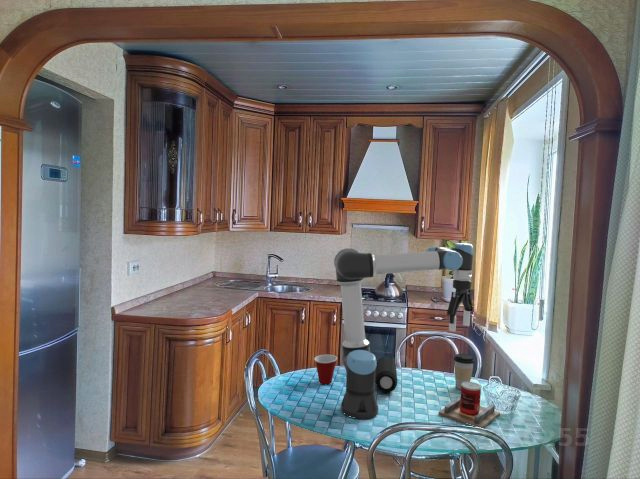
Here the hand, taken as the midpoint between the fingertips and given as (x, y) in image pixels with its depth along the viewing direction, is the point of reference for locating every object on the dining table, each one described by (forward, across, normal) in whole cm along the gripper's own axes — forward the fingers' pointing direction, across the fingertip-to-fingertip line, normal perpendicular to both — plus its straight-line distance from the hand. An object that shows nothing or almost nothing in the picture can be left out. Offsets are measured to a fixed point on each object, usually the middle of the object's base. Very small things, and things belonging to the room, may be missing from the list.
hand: (459, 328), depth 203 cm
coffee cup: (+32, +16, +4) cm, 36 cm away
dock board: (+32, -10, -11) cm, 35 cm away
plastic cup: (+32, -27, +52) cm, 67 cm away
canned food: (+31, -10, -11) cm, 34 cm away
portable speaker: (+32, -7, +32) cm, 46 cm away
